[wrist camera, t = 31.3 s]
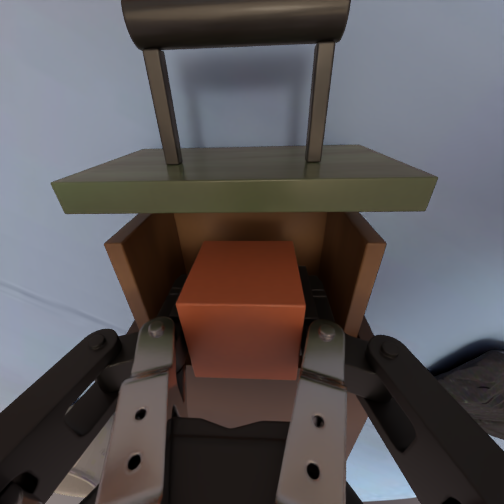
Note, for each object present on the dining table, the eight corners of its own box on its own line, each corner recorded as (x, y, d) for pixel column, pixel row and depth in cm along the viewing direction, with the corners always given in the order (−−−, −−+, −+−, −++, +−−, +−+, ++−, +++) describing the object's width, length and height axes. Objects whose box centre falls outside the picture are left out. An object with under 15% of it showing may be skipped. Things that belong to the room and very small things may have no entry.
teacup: (107, 434, 40) (75, 503, 33) (42, 409, 36) (-10, 481, 29) (154, 409, 34) (127, 484, 27) (84, 376, 30) (32, 454, 23)
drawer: (112, 32, 12) (-64, -54, 5) (384, 19, 11) (545, -95, 5) (184, 316, 22) (152, 399, 16) (325, 318, 22) (350, 406, 15)
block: (213, 305, 14) (194, 377, 10) (203, 240, 12) (174, 304, 8) (287, 306, 14) (296, 381, 10) (293, 240, 11) (306, 305, 8)
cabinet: (169, 262, 20) (107, 363, 12) (339, 262, 19) (391, 370, 12) (196, 370, 28) (170, 472, 21) (316, 373, 28) (337, 479, 20)
